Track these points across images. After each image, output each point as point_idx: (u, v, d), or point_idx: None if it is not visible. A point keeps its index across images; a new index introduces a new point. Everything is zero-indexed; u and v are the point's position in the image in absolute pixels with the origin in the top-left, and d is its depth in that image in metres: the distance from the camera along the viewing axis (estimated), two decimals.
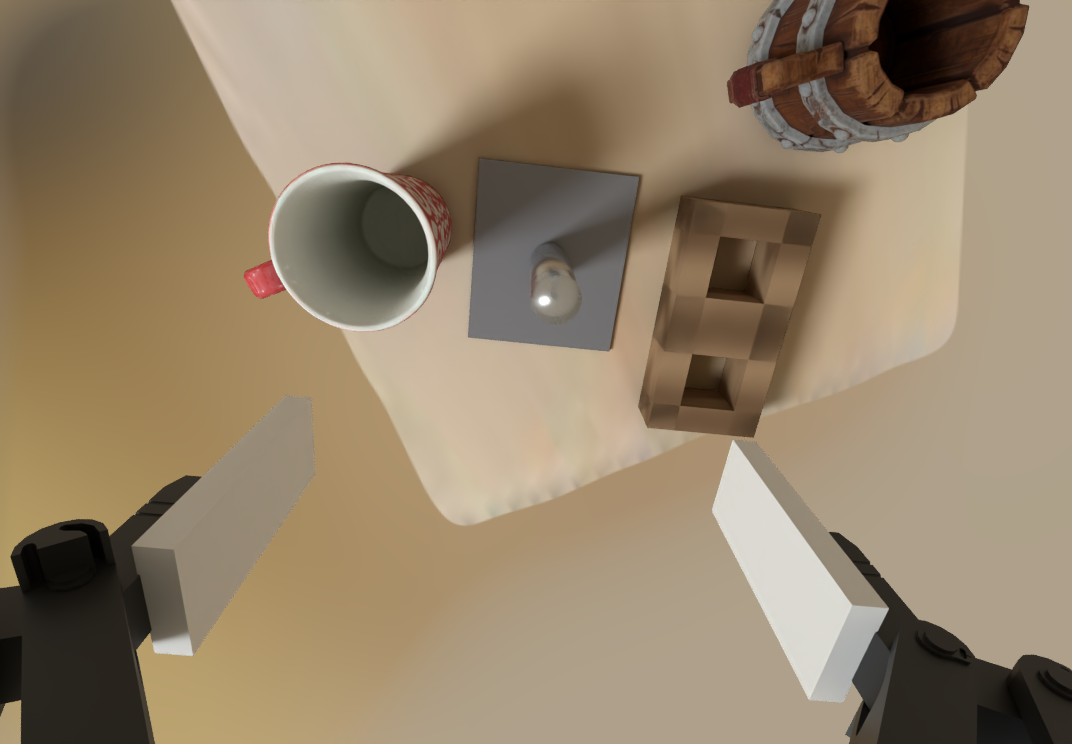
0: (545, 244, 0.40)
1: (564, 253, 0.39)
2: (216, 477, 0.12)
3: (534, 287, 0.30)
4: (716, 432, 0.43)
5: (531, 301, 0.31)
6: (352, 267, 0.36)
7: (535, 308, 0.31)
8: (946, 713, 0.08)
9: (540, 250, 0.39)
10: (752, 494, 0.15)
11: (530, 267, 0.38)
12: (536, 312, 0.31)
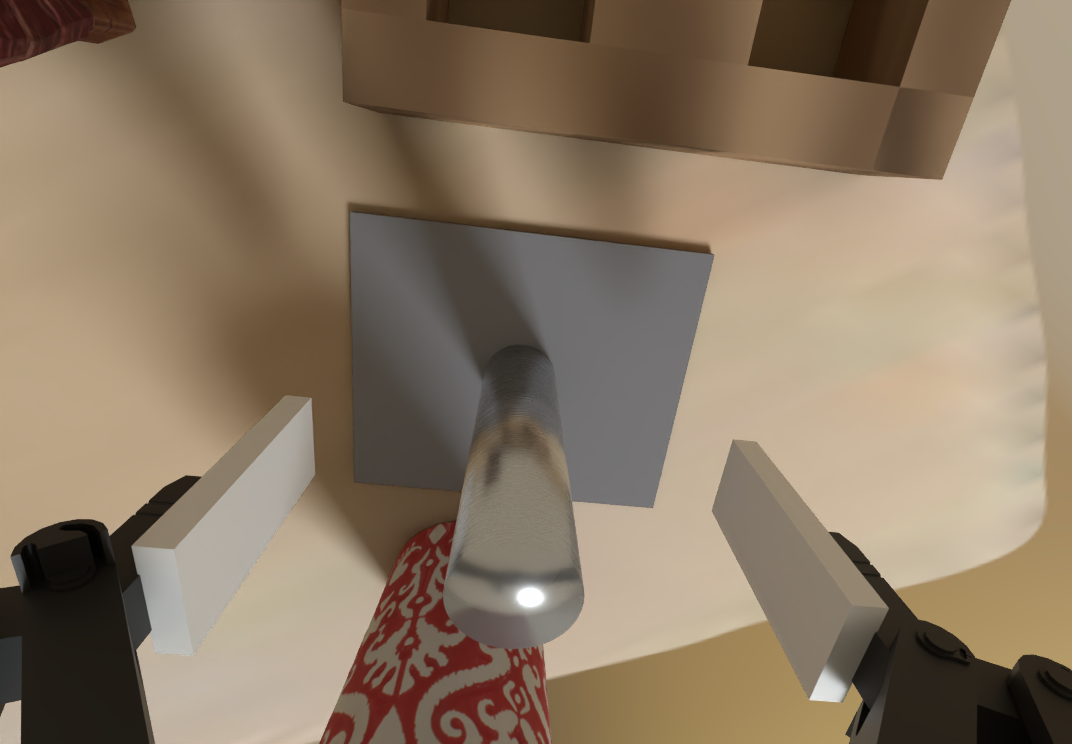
0: None
1: (490, 377, 0.20)
2: (216, 477, 0.12)
3: (482, 639, 0.12)
4: None
5: (518, 646, 0.12)
6: None
7: (537, 638, 0.12)
8: (946, 713, 0.08)
9: None
10: (752, 494, 0.15)
11: None
12: (548, 636, 0.12)
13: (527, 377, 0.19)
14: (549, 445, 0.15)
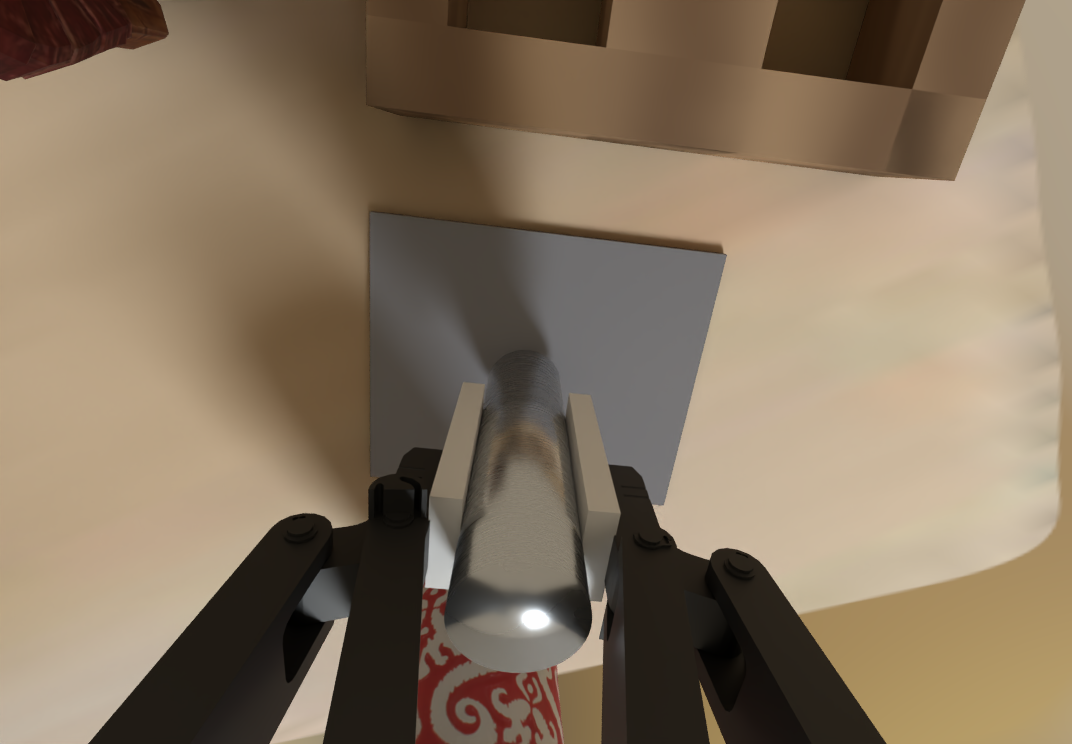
0: None
1: (494, 384, 0.19)
2: (455, 446, 0.14)
3: (484, 663, 0.11)
4: None
5: (523, 670, 0.11)
6: None
7: (543, 662, 0.11)
8: (664, 596, 0.10)
9: None
10: (570, 437, 0.16)
11: None
12: (554, 660, 0.11)
13: (532, 384, 0.18)
14: (555, 456, 0.14)
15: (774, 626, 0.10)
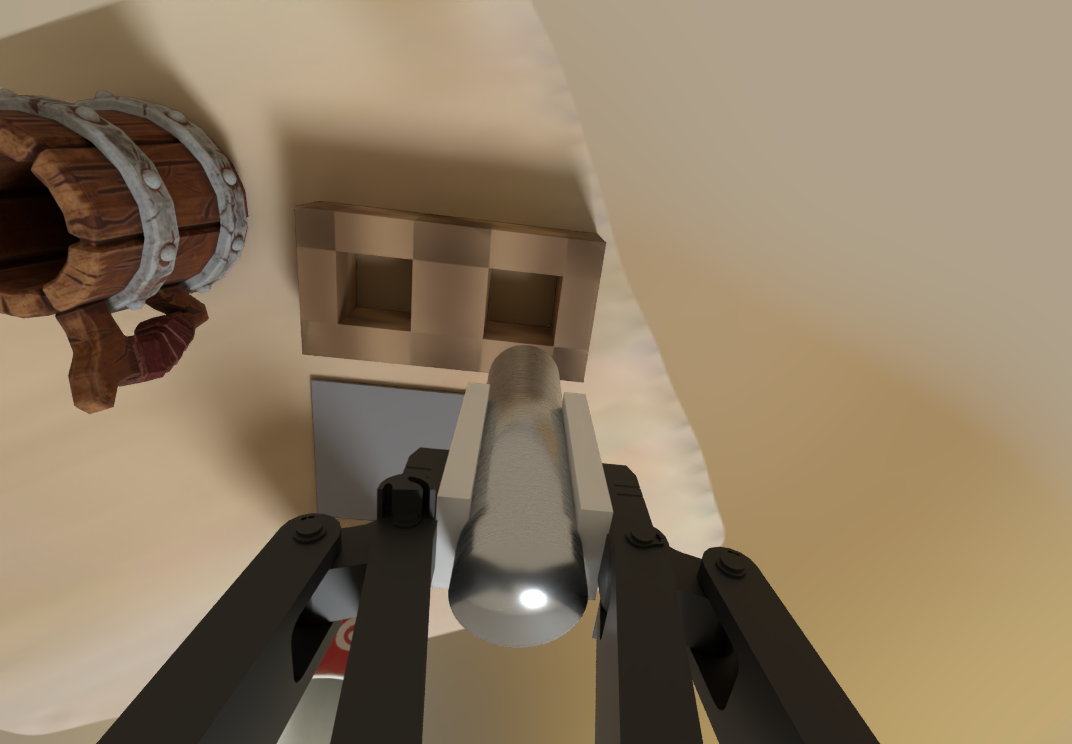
0: None
1: (495, 377, 0.20)
2: (462, 446, 0.14)
3: (486, 638, 0.12)
4: (595, 295, 0.32)
5: (523, 645, 0.12)
6: None
7: (542, 637, 0.12)
8: (657, 594, 0.10)
9: None
10: (565, 435, 0.16)
11: None
12: (553, 635, 0.12)
13: (531, 377, 0.19)
14: (553, 445, 0.15)
15: (766, 624, 0.10)
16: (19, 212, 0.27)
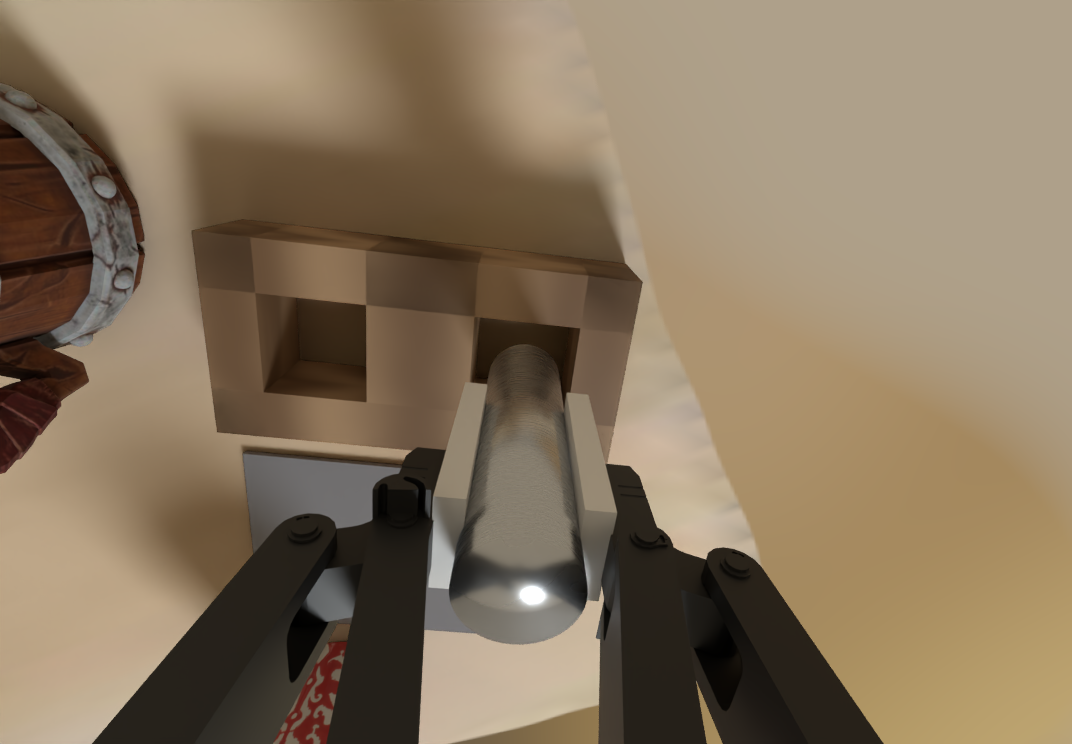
0: None
1: (495, 376, 0.20)
2: (458, 446, 0.14)
3: (486, 634, 0.12)
4: (624, 354, 0.23)
5: (522, 641, 0.12)
6: None
7: (541, 634, 0.12)
8: (661, 595, 0.10)
9: None
10: (568, 436, 0.16)
11: None
12: (552, 632, 0.12)
13: (531, 376, 0.19)
14: (553, 443, 0.15)
15: (770, 625, 0.10)
16: None
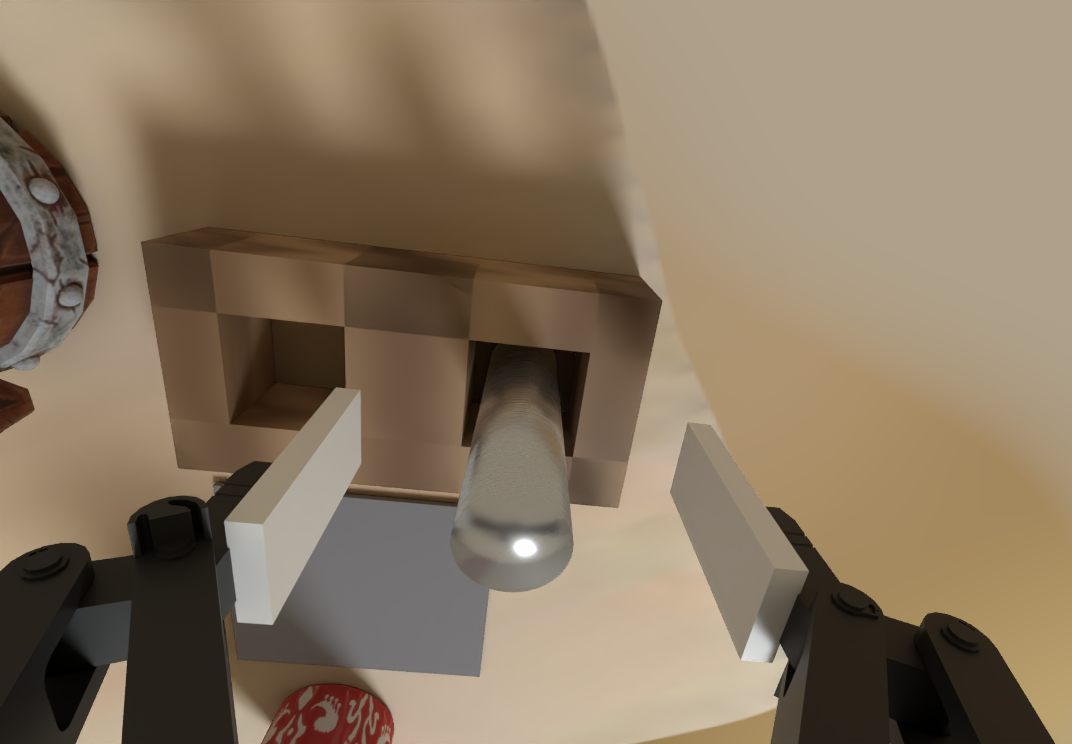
0: None
1: (496, 361, 0.21)
2: (287, 461, 0.12)
3: (483, 583, 0.13)
4: (641, 382, 0.20)
5: (515, 590, 0.13)
6: None
7: (532, 583, 0.13)
8: (860, 666, 0.09)
9: None
10: (701, 473, 0.15)
11: None
12: (542, 581, 0.13)
13: (529, 361, 0.20)
14: (547, 419, 0.16)
15: (996, 707, 0.09)
16: None
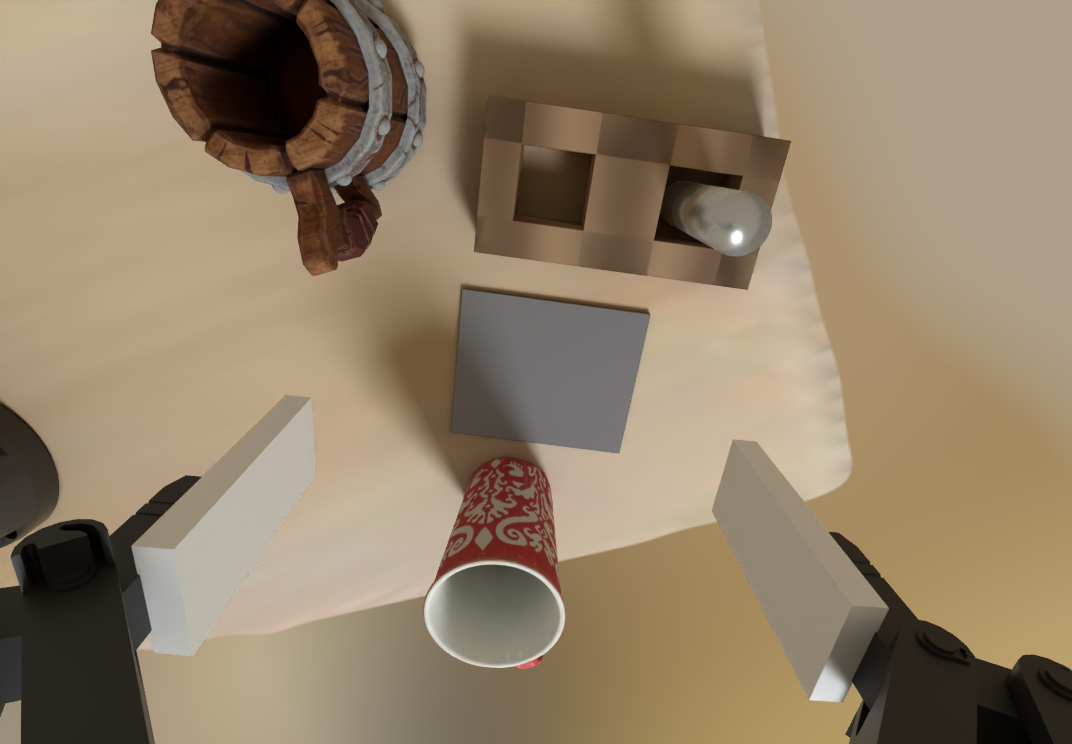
0: (661, 208, 0.36)
1: (675, 189, 0.34)
2: (216, 477, 0.12)
3: (720, 250, 0.26)
4: (772, 197, 0.32)
5: (736, 255, 0.26)
6: None
7: (746, 250, 0.26)
8: (946, 713, 0.08)
9: (668, 218, 0.34)
10: (752, 494, 0.15)
11: None
12: (751, 249, 0.26)
13: None
14: None
15: None
16: (238, 86, 0.28)
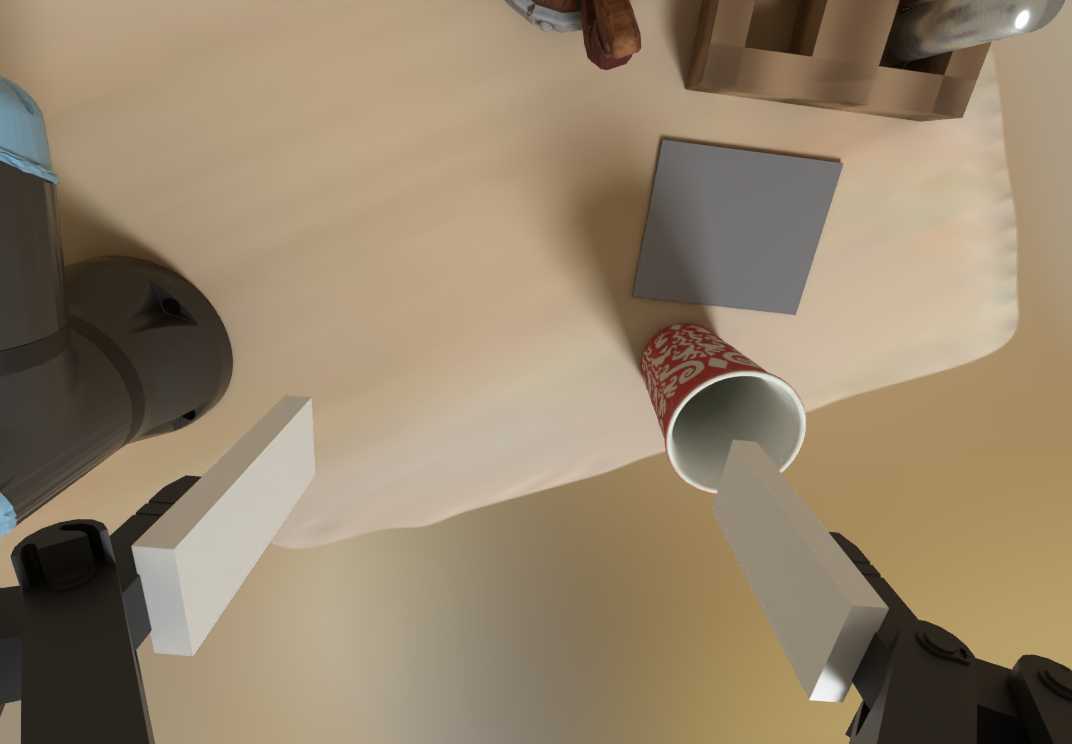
0: None
1: (897, 17, 0.34)
2: (216, 477, 0.12)
3: (1012, 26, 0.27)
4: None
5: (1027, 30, 0.27)
6: (724, 418, 0.42)
7: (1037, 25, 0.27)
8: (946, 713, 0.08)
9: (887, 48, 0.35)
10: (752, 494, 0.15)
11: (910, 58, 0.34)
12: (1042, 24, 0.27)
13: None
14: None
15: None
16: None
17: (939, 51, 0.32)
